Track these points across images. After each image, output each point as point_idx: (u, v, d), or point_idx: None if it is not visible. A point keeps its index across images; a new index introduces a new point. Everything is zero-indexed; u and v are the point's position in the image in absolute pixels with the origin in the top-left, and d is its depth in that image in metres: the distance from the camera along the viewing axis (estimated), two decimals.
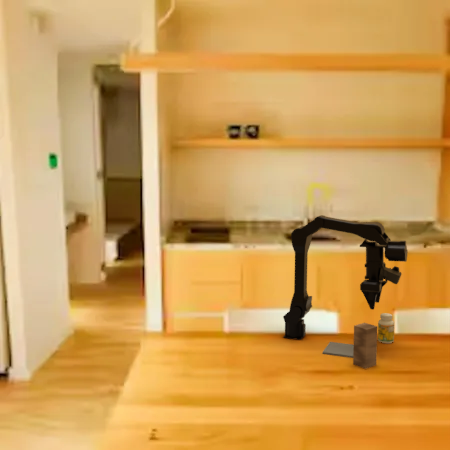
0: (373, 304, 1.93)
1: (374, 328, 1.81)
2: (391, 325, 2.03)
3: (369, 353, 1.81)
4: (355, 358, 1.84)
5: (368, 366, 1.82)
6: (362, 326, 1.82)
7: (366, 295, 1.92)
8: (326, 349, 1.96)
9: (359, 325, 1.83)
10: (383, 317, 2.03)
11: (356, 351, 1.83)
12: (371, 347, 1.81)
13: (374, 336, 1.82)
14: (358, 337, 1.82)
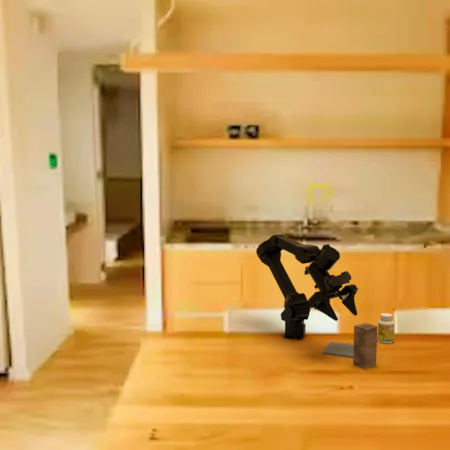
0: (333, 314, 1.86)
1: (374, 328, 1.81)
2: (391, 325, 2.03)
3: (369, 353, 1.81)
4: (355, 358, 1.84)
5: (368, 366, 1.82)
6: (362, 326, 1.82)
7: (322, 310, 1.88)
8: (326, 349, 1.96)
9: (359, 325, 1.83)
10: (383, 317, 2.03)
11: (356, 351, 1.83)
12: (371, 347, 1.81)
13: (374, 336, 1.82)
14: (358, 337, 1.82)
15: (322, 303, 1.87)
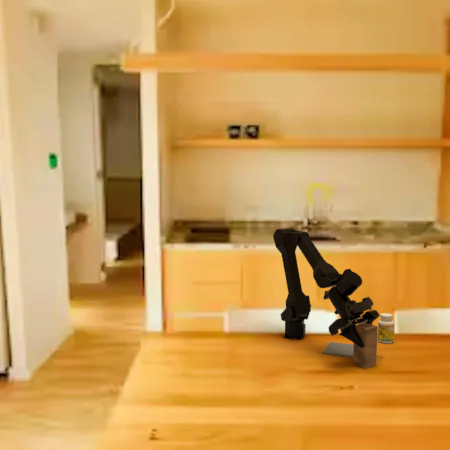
0: (359, 341, 1.81)
1: (374, 328, 1.81)
2: (391, 325, 2.03)
3: (369, 353, 1.81)
4: (355, 358, 1.84)
5: (368, 366, 1.82)
6: (362, 326, 1.82)
7: (348, 336, 1.83)
8: (326, 349, 1.96)
9: (359, 325, 1.83)
10: (383, 317, 2.03)
11: (356, 351, 1.83)
12: (371, 347, 1.81)
13: (374, 336, 1.82)
14: None
15: (348, 329, 1.82)
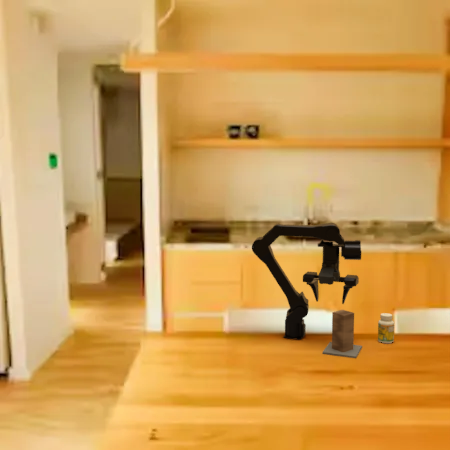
0: None
1: (351, 314, 1.94)
2: (391, 325, 2.03)
3: (346, 338, 1.94)
4: (333, 342, 1.96)
5: (345, 350, 1.94)
6: (340, 313, 1.94)
7: None
8: (326, 349, 1.96)
9: (337, 312, 1.96)
10: (383, 317, 2.03)
11: (334, 336, 1.96)
12: (348, 332, 1.94)
13: (351, 322, 1.94)
14: (336, 323, 1.95)
15: None
